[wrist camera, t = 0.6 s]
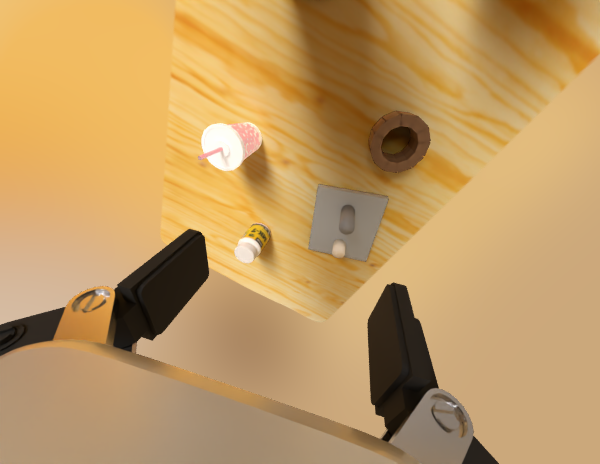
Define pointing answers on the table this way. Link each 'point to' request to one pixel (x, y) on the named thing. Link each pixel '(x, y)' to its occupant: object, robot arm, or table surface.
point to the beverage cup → (229, 144)
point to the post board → (332, 220)
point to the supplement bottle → (252, 242)
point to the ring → (410, 152)
